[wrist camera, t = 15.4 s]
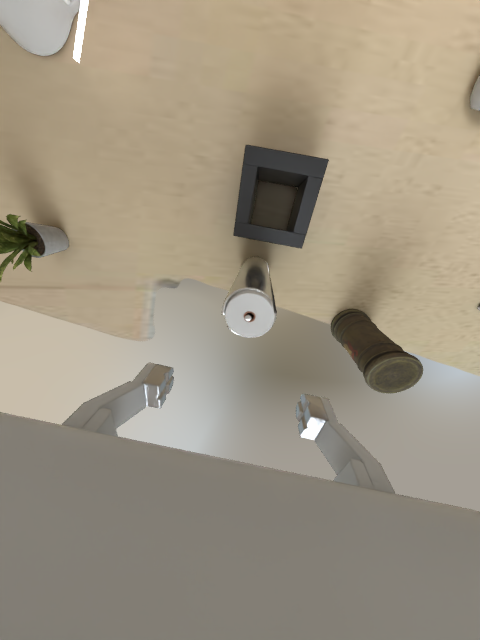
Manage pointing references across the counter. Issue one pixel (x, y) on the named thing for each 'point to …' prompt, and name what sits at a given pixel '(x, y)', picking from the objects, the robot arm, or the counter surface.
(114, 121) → the counter surface
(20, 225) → the house plant
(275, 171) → the box
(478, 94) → the bottle
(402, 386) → the container
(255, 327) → the silver tall cylinder
